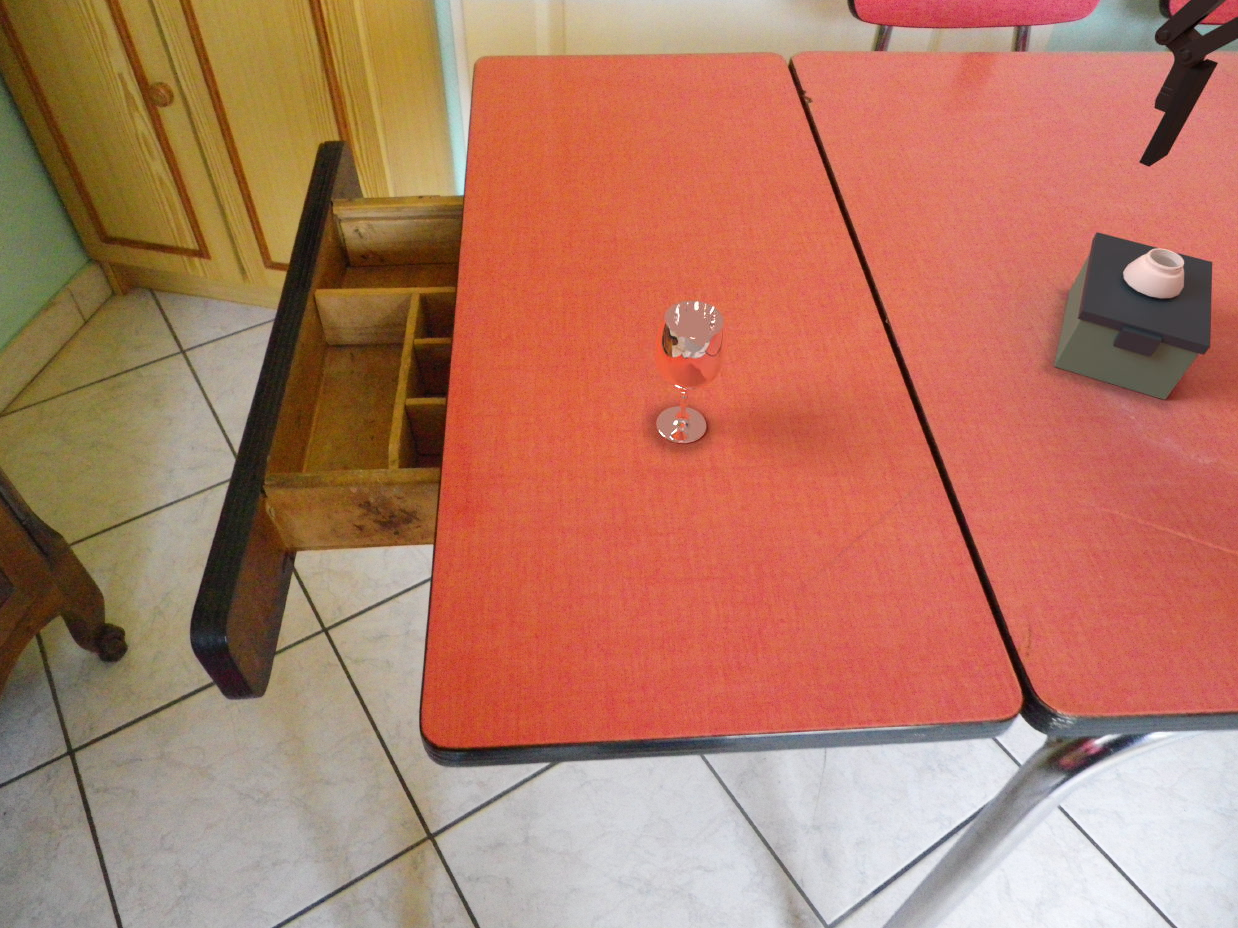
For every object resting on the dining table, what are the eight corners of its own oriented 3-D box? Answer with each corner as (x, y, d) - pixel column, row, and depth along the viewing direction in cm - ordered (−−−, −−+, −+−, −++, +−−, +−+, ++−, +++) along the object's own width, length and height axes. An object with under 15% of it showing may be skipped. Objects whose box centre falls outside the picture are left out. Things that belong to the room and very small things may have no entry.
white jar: (1111, 269, 80) (1137, 303, 77) (1126, 242, 78) (1154, 276, 75) (1161, 267, 81) (1189, 300, 77) (1177, 240, 78) (1207, 274, 75)
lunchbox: (1168, 407, 78) (1210, 350, 73) (1049, 371, 81) (1081, 313, 76) (1174, 315, 87) (1212, 259, 82) (1067, 286, 90) (1097, 229, 84)
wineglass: (635, 422, 75) (641, 316, 66) (681, 392, 78) (693, 286, 69) (681, 459, 73) (694, 354, 63) (727, 427, 75) (746, 322, 66)
